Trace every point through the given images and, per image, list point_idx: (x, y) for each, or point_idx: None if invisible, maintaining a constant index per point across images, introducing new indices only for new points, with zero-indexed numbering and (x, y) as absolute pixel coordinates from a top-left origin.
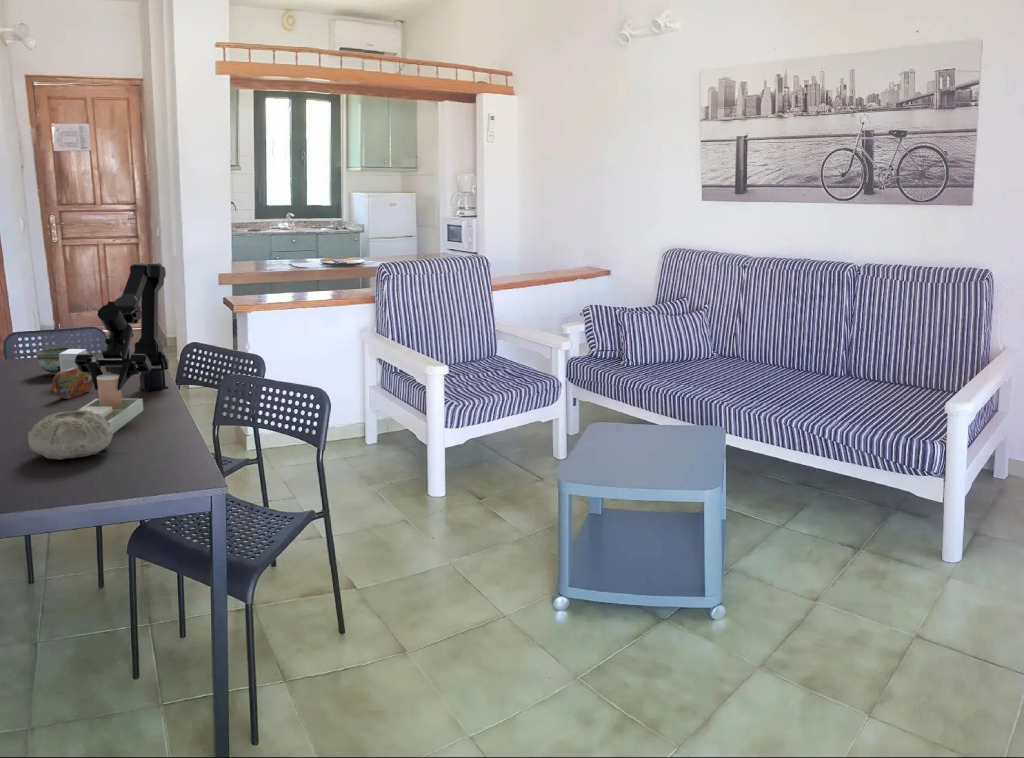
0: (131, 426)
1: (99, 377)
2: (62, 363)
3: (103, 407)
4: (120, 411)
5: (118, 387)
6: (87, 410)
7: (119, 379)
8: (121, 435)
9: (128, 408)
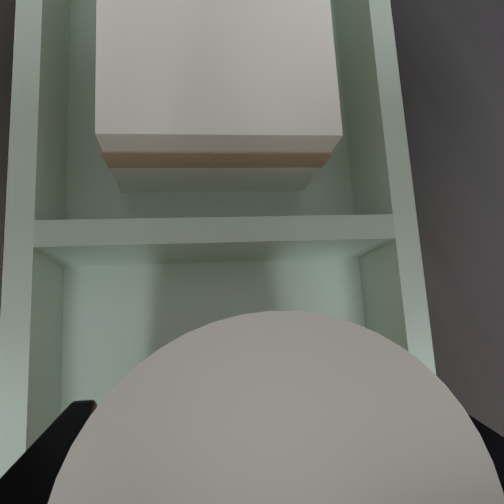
0: (4, 209)
1: (405, 401)
2: None
3: (162, 101)
4: (63, 224)
5: (79, 405)
6: (258, 13)
7: (32, 496)
8: (5, 15)
9: (4, 284)
